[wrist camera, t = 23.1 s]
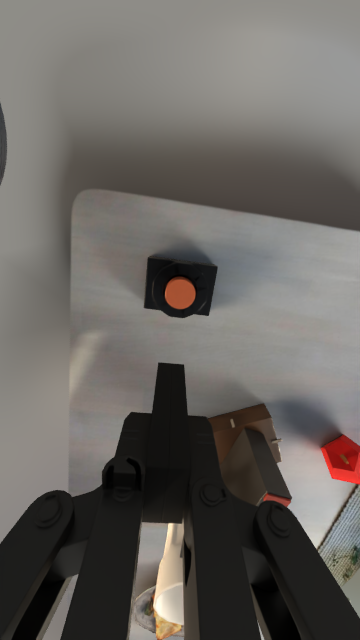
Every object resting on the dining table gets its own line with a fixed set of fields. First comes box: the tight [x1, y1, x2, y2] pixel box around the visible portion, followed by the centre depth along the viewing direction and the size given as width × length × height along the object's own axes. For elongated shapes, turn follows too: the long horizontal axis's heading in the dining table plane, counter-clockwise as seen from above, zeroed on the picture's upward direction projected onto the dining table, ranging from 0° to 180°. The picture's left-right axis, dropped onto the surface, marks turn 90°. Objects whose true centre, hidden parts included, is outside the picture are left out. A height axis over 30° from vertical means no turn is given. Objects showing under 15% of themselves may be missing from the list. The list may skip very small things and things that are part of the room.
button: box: [165, 277, 195, 309], centre depth 26 cm, size 3×3×2 cm
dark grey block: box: [220, 428, 292, 507], centre depth 31 cm, size 8×3×9 cm, turn 158°
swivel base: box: [208, 404, 282, 474], centre depth 37 cm, size 12×12×3 cm
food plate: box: [134, 585, 184, 640], centre depth 53 cm, size 25×23×4 cm
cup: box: [153, 522, 184, 625], centre depth 40 cm, size 12×12×11 cm
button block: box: [144, 256, 218, 318], centre depth 28 cm, size 8×6×4 cm
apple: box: [321, 435, 360, 484], centre depth 36 cm, size 7×7×8 cm
